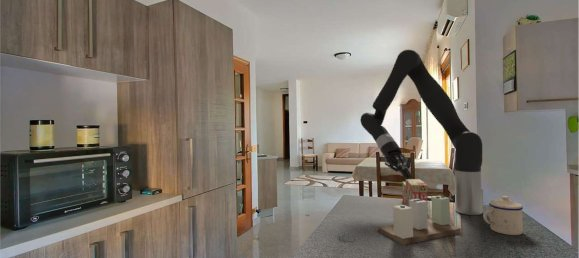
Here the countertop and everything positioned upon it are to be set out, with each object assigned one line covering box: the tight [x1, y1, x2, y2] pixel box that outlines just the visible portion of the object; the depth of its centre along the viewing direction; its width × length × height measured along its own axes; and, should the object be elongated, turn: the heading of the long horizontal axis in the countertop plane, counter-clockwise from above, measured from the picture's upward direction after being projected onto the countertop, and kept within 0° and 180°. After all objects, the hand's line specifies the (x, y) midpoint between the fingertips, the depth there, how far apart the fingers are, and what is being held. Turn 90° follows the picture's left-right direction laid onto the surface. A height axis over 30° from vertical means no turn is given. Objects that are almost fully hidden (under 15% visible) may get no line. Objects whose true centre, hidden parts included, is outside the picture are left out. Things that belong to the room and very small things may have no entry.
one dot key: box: [392, 204, 413, 239], centre depth 89 cm, size 4×4×9 cm
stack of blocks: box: [401, 178, 429, 211], centre depth 126 cm, size 21×6×12 cm, turn 168°
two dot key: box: [430, 195, 451, 225], centre depth 99 cm, size 4×4×9 cm
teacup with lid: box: [482, 195, 524, 236], centre depth 95 cm, size 12×9×12 cm
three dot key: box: [409, 199, 429, 230], centre depth 96 cm, size 4×4×9 cm
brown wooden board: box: [377, 217, 462, 246], centre depth 96 cm, size 24×12×2 cm, turn 110°
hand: (409, 178), depth 113 cm, fingers closed
